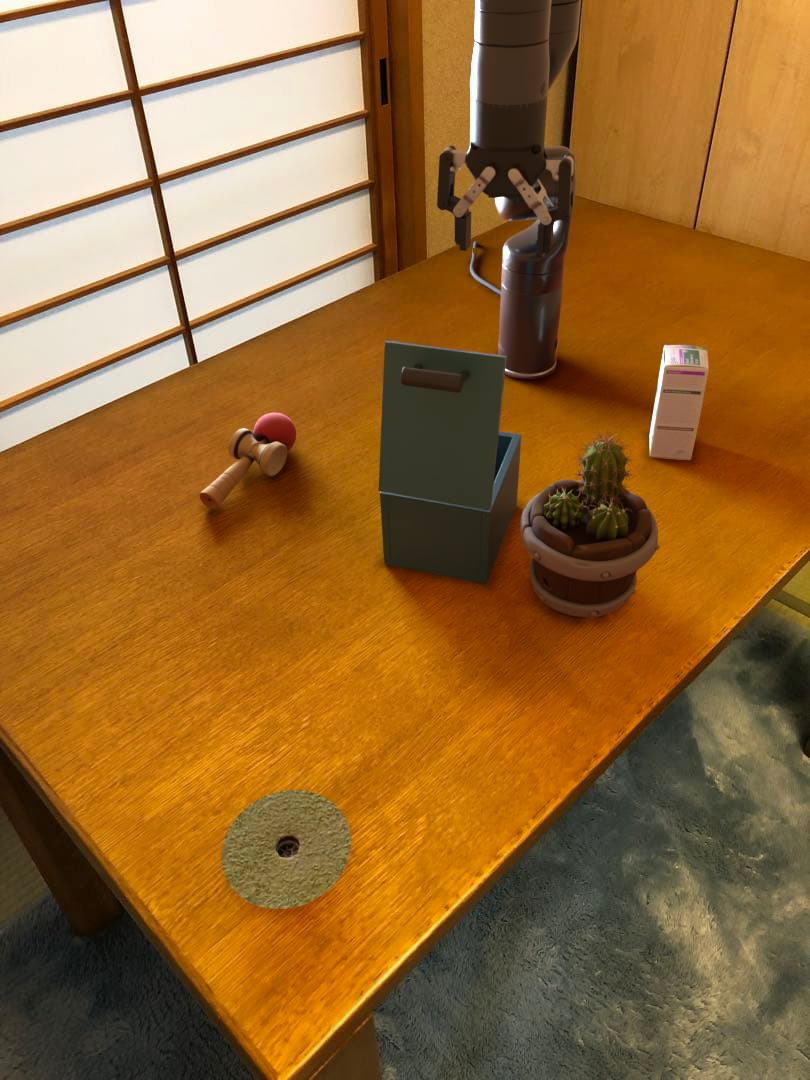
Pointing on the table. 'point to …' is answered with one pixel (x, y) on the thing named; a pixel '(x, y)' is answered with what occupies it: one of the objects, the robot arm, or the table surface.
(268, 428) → the kendama
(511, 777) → the table surface
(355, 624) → the table surface
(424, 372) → the lid
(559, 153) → the robot arm
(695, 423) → the syrup box
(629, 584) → the flowerpot
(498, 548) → the bin
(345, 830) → the mat
